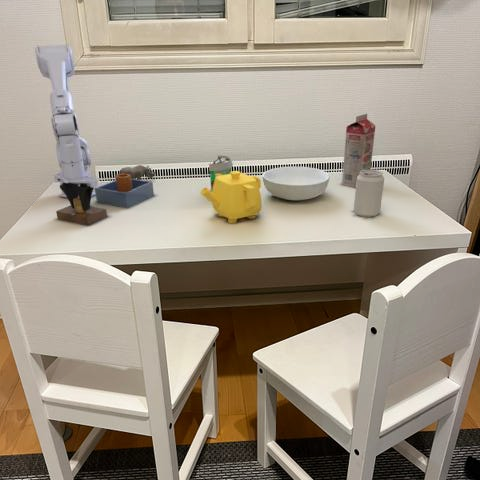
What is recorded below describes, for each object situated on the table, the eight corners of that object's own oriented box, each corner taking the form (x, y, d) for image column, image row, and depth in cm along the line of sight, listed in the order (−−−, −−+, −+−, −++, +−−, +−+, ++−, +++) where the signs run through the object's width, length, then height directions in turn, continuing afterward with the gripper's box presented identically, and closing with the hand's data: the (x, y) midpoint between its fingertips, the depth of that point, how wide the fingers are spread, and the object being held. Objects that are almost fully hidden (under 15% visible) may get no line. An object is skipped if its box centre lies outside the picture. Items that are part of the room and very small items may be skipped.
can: (348, 211, 148) (352, 170, 142) (369, 207, 150) (374, 167, 144) (363, 219, 142) (367, 176, 136) (385, 215, 144) (390, 173, 138)
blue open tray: (97, 202, 160) (94, 188, 158) (124, 191, 170) (122, 177, 168) (127, 208, 155) (125, 193, 153) (154, 195, 165) (152, 181, 163)
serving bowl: (281, 211, 149) (282, 188, 146) (251, 192, 166) (251, 171, 162) (341, 200, 156) (343, 178, 153) (306, 183, 173) (307, 163, 169)
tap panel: (55, 220, 147) (53, 211, 146) (77, 211, 154) (75, 202, 152) (86, 226, 142) (84, 217, 141) (107, 216, 148) (106, 208, 147)
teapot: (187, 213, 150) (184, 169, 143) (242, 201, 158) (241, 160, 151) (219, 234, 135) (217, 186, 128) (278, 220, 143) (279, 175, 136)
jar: (115, 198, 162) (112, 176, 158) (125, 194, 165) (122, 172, 161) (126, 200, 160) (123, 178, 156) (136, 196, 163) (133, 174, 159)
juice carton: (341, 184, 171) (347, 115, 160) (351, 180, 175) (358, 112, 164) (359, 188, 167) (366, 117, 156) (369, 183, 172) (376, 114, 160)
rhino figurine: (159, 181, 179) (157, 164, 176) (121, 187, 174) (119, 169, 171) (155, 178, 183) (153, 161, 179) (118, 184, 177) (115, 167, 174)
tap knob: (72, 212, 145) (69, 199, 143) (81, 208, 148) (79, 195, 146) (81, 213, 144) (79, 200, 142) (90, 210, 146) (88, 197, 144)
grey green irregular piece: (229, 196, 163) (227, 164, 157) (210, 195, 164) (208, 164, 159) (236, 185, 173) (236, 155, 168) (219, 184, 174) (218, 155, 169)
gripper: (42, 161, 138) (52, 209, 145) (81, 167, 132) (90, 216, 139) (61, 155, 144) (70, 202, 151) (99, 160, 138) (107, 209, 145)
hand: (81, 208), depth 145 cm, fingers closed on tap knob, 3 cm apart
